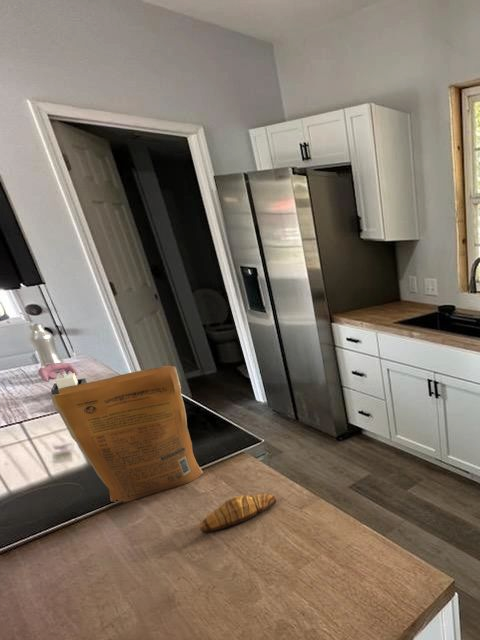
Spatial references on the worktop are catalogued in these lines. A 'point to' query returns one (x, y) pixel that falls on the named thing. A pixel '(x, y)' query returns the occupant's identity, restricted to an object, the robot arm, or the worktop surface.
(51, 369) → the video game controller
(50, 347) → the plastic bottle
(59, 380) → the charger head
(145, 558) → the worktop surface
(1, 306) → the robot arm
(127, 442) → the pancake mix bag
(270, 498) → the croissant
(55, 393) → the adapter
